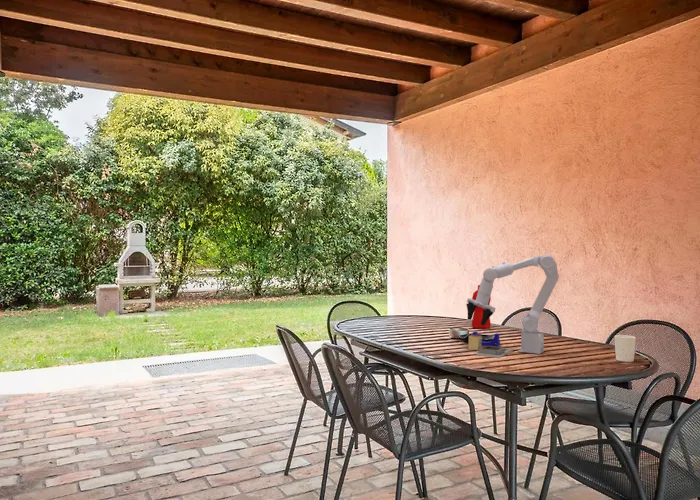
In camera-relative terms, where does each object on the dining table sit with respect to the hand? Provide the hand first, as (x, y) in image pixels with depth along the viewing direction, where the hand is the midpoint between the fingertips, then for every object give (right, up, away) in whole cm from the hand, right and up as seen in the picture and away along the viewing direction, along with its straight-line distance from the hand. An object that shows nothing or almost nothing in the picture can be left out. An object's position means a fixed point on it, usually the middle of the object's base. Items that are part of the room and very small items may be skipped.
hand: (475, 322), depth 259 cm
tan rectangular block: (-1, -12, -1) cm, 12 cm away
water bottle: (+17, -12, +65) cm, 69 cm away
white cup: (+57, -13, -23) cm, 63 cm away
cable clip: (+7, -12, +10) cm, 17 cm away
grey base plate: (+6, -12, -11) cm, 18 cm away
